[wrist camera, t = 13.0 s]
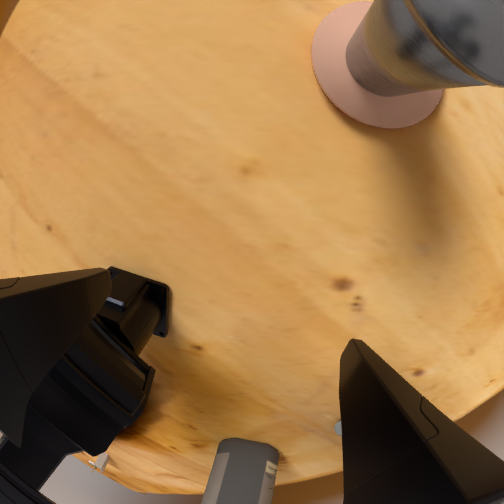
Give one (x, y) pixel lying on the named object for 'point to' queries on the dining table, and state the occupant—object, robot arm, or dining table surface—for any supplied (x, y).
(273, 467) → the liquor
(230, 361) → the dining table surface
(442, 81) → the canister
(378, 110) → the soap bar
